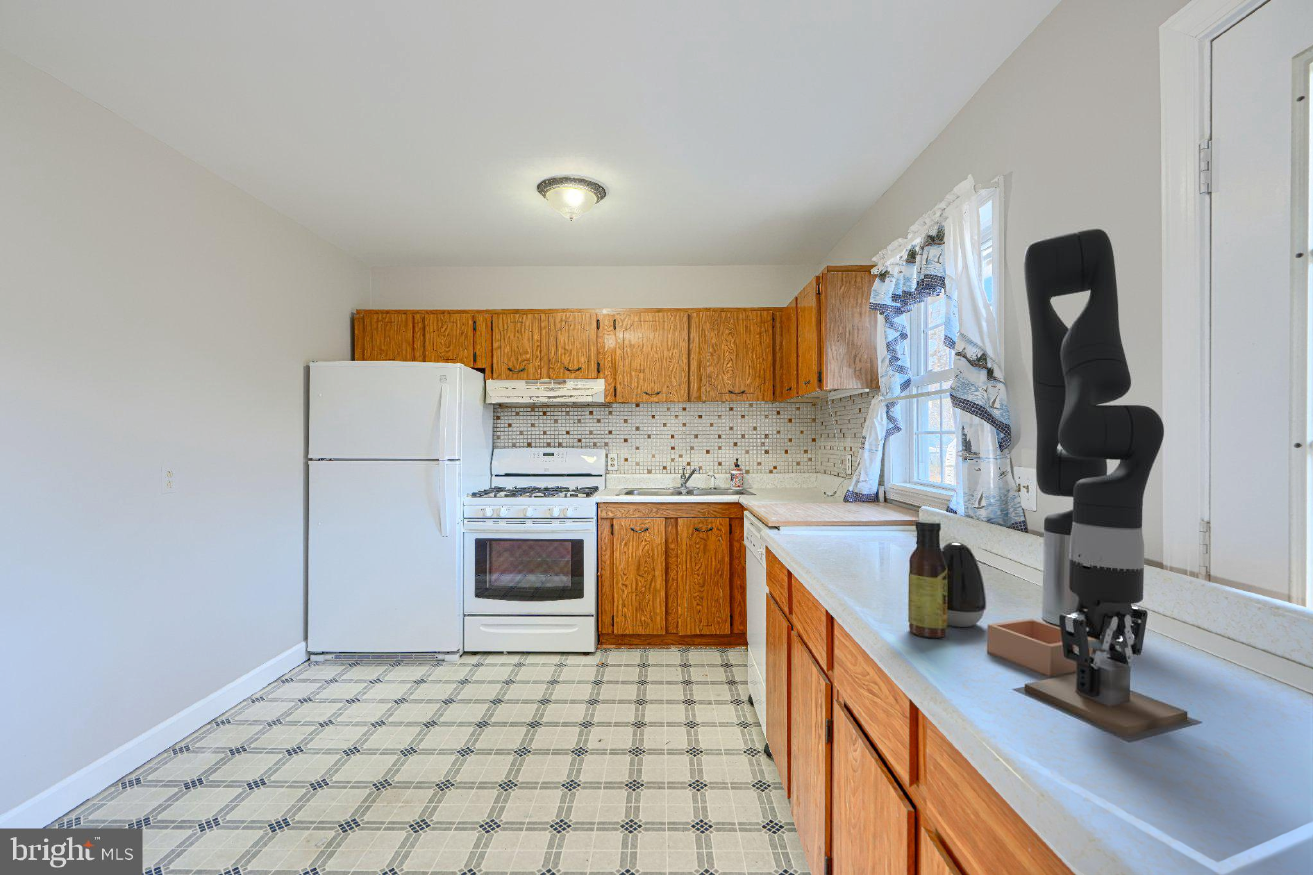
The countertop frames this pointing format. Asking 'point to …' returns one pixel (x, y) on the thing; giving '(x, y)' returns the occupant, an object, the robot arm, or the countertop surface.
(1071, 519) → the robot arm
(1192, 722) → the mat
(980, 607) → the black egg-shaped device
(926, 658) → the countertop surface
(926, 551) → the sauce bottle
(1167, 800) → the countertop surface
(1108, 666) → the lid
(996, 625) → the terracotta storage tray
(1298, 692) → the countertop surface
